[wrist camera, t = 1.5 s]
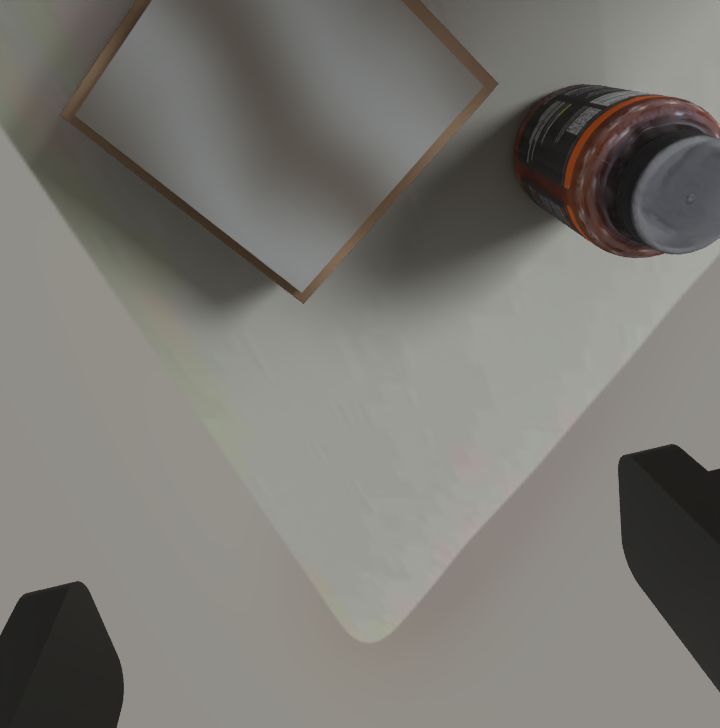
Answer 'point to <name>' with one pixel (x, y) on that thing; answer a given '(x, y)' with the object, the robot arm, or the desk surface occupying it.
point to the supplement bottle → (624, 168)
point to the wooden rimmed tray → (280, 117)
